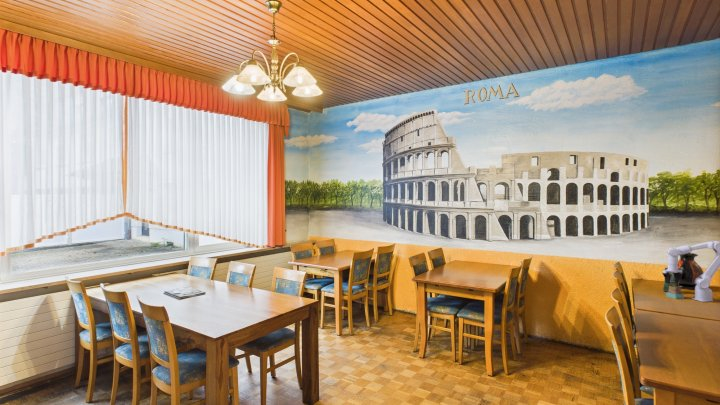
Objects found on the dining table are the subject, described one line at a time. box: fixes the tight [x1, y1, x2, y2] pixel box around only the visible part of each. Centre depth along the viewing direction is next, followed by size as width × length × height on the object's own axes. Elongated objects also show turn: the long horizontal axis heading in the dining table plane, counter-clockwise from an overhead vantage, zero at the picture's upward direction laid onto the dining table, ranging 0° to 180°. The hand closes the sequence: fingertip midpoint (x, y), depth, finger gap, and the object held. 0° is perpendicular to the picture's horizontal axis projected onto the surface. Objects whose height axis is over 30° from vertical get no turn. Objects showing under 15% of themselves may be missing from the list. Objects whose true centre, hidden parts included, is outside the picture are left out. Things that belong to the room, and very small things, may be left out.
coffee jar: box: [662, 267, 679, 292], centre depth 291 cm, size 10×8×19 cm
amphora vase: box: [678, 252, 705, 291], centre depth 305 cm, size 22×22×28 cm
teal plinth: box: [665, 291, 685, 300], centre depth 275 cm, size 7×7×3 cm
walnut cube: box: [669, 286, 682, 294], centre depth 276 cm, size 5×5×5 cm
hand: (672, 282), depth 277 cm, fingers open, 7 cm apart
